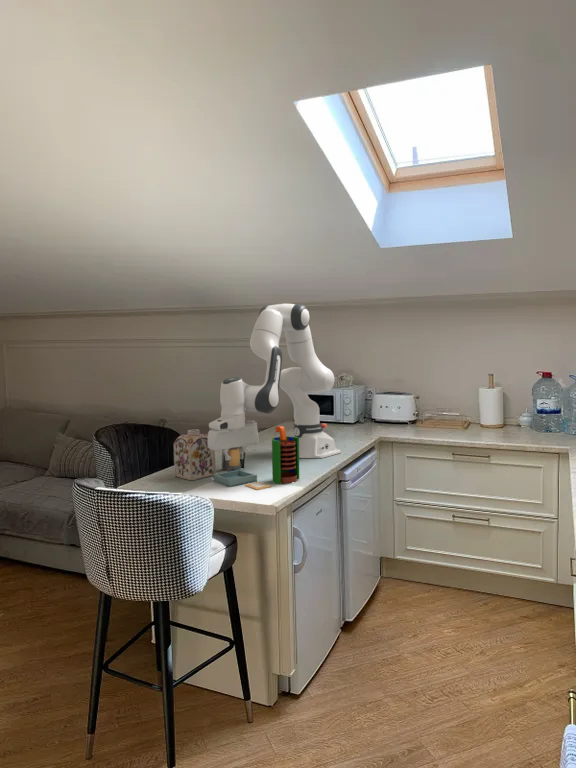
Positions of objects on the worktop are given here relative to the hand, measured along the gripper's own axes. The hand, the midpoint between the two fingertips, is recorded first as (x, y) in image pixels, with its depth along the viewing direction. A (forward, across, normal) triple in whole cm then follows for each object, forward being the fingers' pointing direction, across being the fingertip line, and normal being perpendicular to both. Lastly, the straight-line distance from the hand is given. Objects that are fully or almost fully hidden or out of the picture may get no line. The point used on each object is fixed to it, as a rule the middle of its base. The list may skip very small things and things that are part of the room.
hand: (234, 459), depth 219 cm
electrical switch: (+8, -11, -18) cm, 23 cm away
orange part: (+2, 0, 0) cm, 2 cm away
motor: (+8, -14, +12) cm, 20 cm away
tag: (+8, -2, +12) cm, 15 cm away
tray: (+8, 0, 0) cm, 8 cm away
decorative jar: (+8, +7, -18) cm, 21 cm away
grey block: (+8, -5, -9) cm, 13 cm away
